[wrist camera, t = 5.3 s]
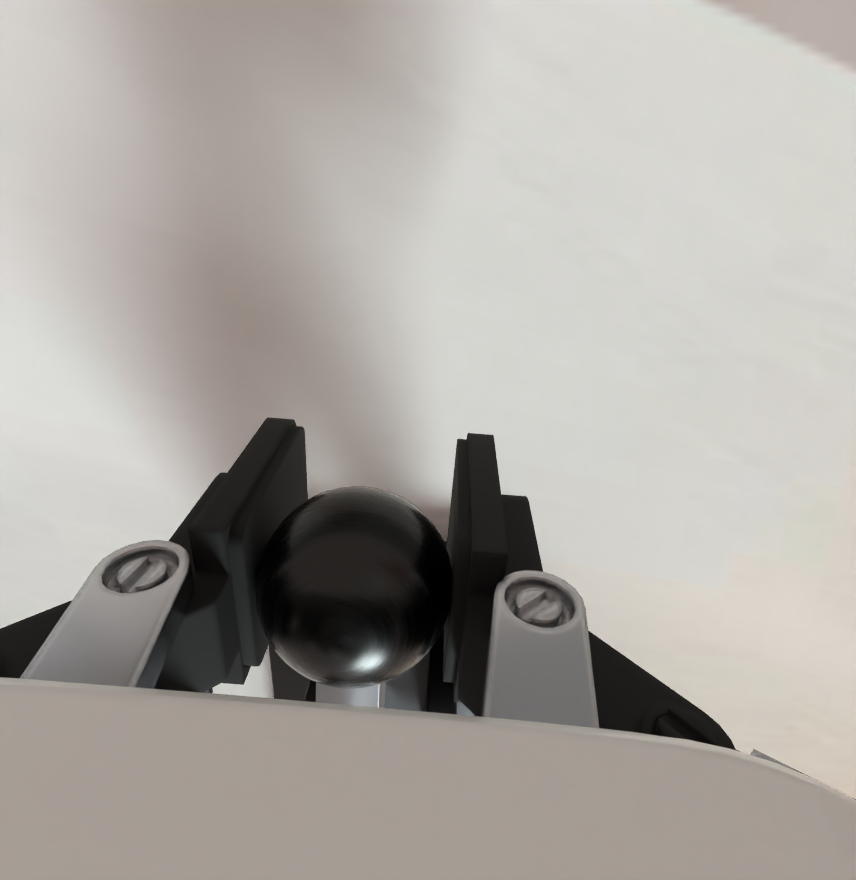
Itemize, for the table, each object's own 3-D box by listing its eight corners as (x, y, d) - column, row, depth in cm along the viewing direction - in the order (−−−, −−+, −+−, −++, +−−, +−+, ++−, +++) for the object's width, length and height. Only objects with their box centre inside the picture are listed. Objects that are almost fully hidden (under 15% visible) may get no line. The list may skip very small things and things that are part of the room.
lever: (287, 454, 10) (219, 530, 7) (459, 468, 10) (463, 549, 7) (289, 993, 15) (246, 1185, 11) (409, 1005, 14) (399, 1200, 11)
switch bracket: (269, 527, 20) (11, 1043, 8) (523, 547, 19) (613, 1100, 8) (288, 740, 25) (150, 1222, 14) (485, 757, 25) (508, 1257, 14)
